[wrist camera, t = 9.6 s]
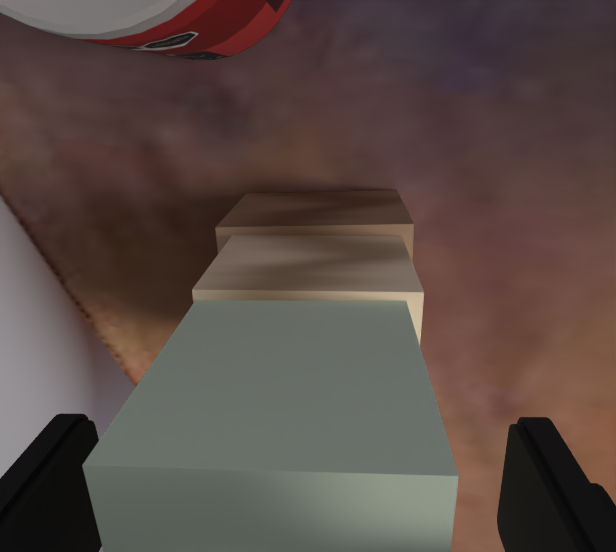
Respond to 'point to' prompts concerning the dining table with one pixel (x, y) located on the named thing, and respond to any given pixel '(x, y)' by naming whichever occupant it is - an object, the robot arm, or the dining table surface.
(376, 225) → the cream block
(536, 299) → the dining table surface
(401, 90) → the dining table surface
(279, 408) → the sage block
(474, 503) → the dining table surface
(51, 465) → the robot arm
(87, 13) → the canned food
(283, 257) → the beech block
